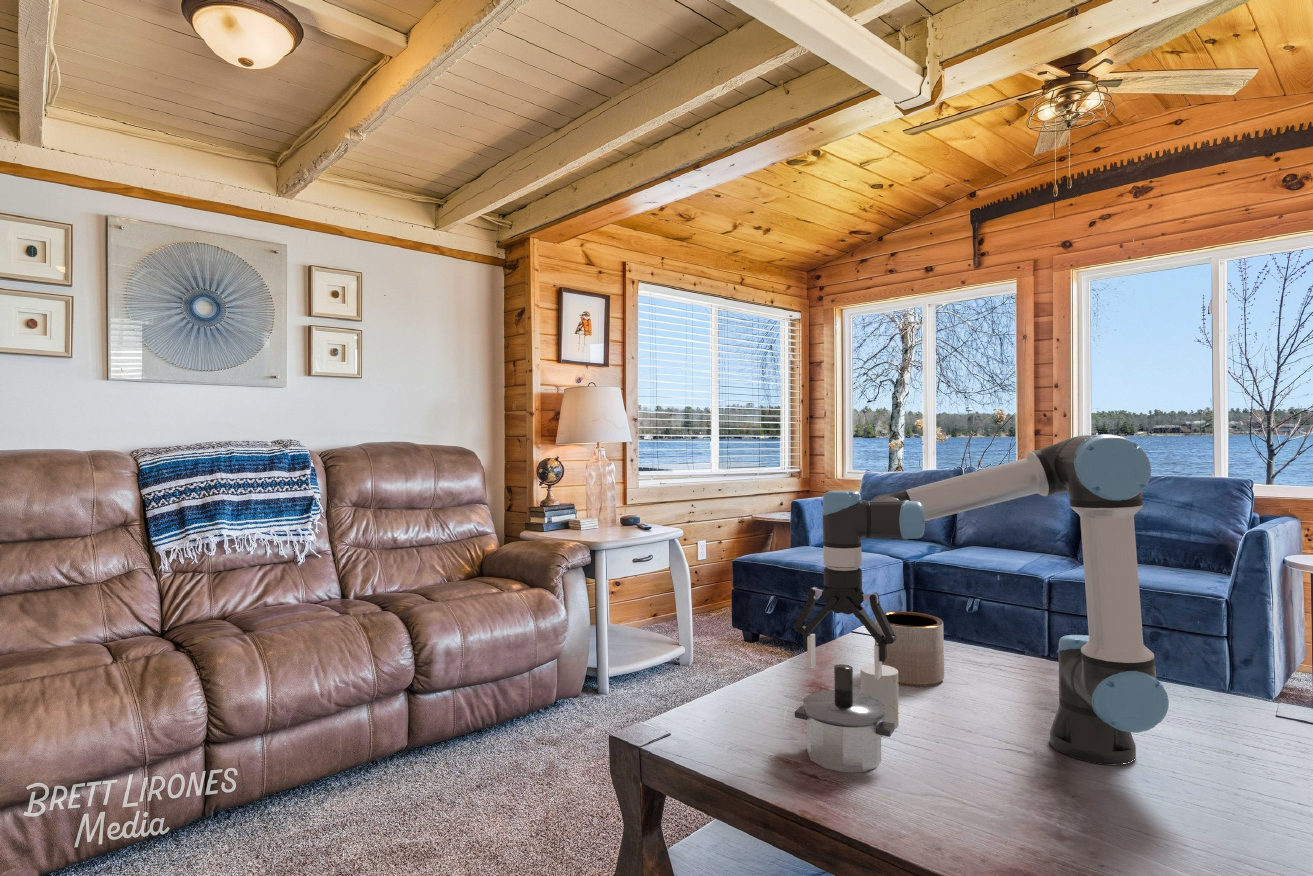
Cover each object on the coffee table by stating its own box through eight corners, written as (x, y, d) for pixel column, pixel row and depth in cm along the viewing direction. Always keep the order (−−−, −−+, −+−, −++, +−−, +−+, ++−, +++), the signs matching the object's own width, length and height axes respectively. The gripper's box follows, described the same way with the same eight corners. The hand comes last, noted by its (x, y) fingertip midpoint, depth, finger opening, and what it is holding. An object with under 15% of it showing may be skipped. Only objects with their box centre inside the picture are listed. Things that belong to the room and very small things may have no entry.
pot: (900, 753, 145) (900, 709, 145) (883, 782, 133) (883, 733, 133) (809, 734, 155) (809, 692, 155) (786, 758, 143) (785, 714, 143)
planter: (861, 670, 198) (861, 613, 198) (915, 664, 203) (915, 609, 203) (901, 691, 181) (901, 629, 181) (959, 684, 186) (958, 624, 186)
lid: (893, 706, 147) (893, 662, 147) (873, 733, 133) (873, 685, 133) (817, 692, 155) (817, 651, 155) (792, 717, 141) (791, 671, 141)
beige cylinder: (900, 731, 156) (900, 676, 156) (862, 728, 158) (862, 674, 158) (896, 717, 164) (895, 665, 164) (859, 715, 166) (859, 663, 166)
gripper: (910, 568, 141) (912, 676, 141) (790, 559, 154) (792, 658, 154) (902, 575, 134) (903, 687, 134) (777, 565, 147) (779, 667, 147)
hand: (844, 672), depth 144 cm, fingers open, 13 cm apart
